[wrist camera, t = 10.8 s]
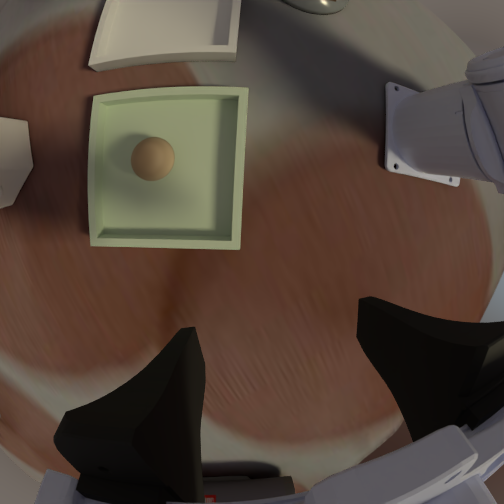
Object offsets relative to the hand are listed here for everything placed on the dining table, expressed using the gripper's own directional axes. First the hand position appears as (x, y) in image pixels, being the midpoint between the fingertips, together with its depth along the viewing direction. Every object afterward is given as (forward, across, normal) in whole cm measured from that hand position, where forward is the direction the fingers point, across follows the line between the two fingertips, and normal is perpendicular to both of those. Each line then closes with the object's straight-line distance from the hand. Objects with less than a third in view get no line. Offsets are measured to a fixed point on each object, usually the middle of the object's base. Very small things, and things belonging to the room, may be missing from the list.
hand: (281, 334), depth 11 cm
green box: (+10, +6, -8) cm, 14 cm away
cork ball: (+10, +6, -8) cm, 14 cm away
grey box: (+10, +4, -22) cm, 25 cm away
